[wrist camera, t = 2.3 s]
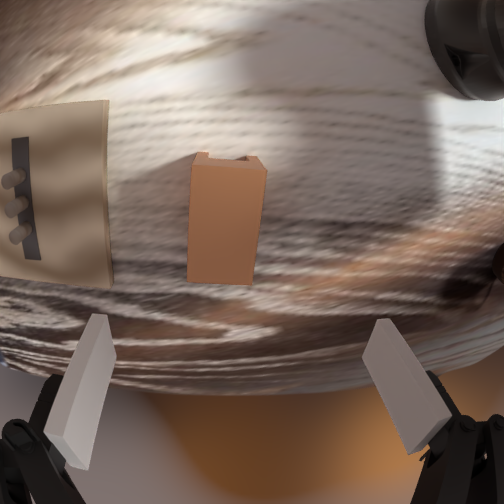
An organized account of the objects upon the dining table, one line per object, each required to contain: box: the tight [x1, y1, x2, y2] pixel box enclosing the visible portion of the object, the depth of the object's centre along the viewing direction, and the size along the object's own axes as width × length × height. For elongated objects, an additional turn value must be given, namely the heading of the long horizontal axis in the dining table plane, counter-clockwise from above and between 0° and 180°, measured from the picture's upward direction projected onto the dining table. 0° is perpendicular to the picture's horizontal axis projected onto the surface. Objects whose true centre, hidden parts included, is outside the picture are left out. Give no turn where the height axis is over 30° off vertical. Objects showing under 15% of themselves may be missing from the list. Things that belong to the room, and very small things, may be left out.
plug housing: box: [187, 152, 267, 285], centre depth 28 cm, size 10×6×7 cm, turn 173°
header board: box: [0, 100, 114, 289], centre depth 26 cm, size 20×20×4 cm
